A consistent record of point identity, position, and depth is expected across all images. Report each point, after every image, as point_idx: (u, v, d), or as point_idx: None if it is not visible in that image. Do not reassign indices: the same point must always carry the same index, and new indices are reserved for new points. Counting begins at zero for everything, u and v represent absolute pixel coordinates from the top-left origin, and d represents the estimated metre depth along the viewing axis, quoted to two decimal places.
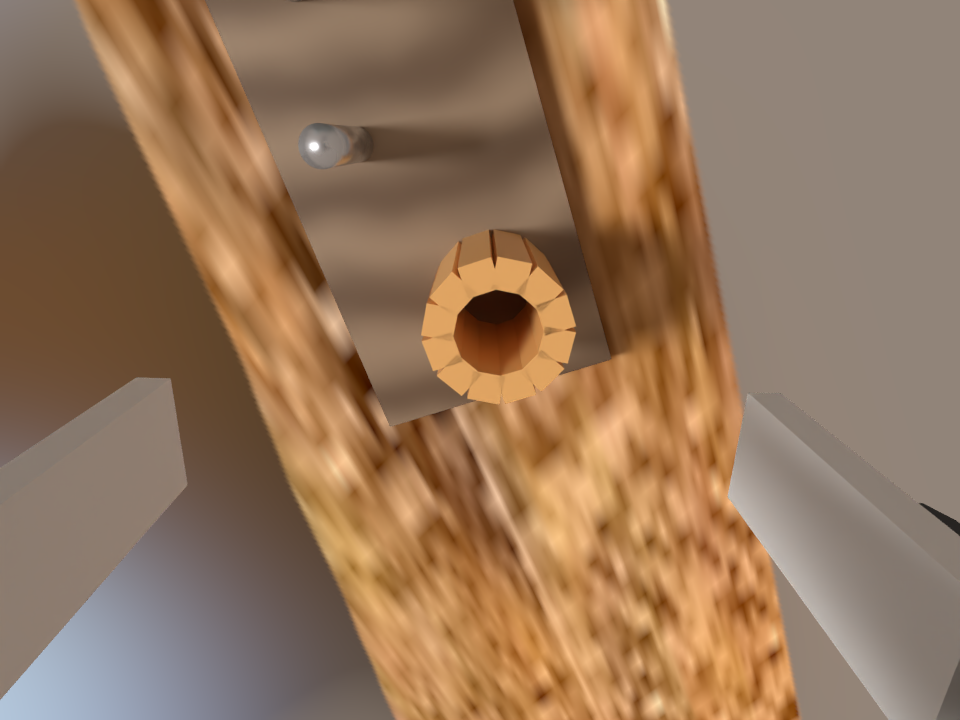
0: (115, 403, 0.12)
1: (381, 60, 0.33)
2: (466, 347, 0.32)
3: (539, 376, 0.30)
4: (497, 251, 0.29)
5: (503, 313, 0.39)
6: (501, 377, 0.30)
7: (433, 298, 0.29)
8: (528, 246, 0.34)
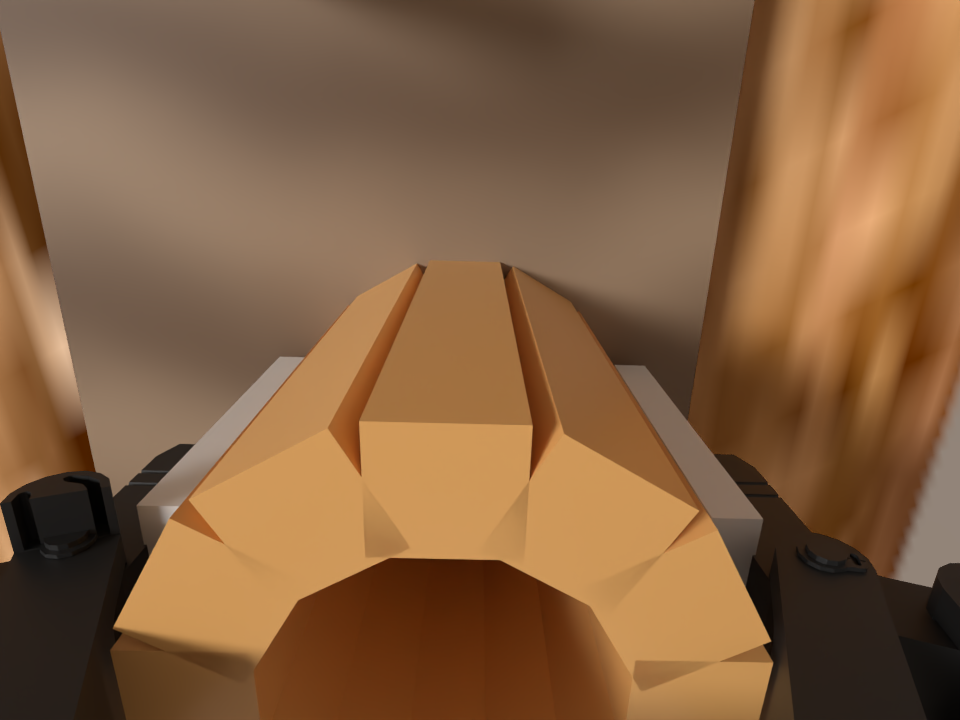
0: (274, 377, 0.13)
1: None
2: (319, 629, 0.09)
3: None
4: (550, 383, 0.07)
5: None
6: None
7: (206, 509, 0.06)
8: (604, 353, 0.12)
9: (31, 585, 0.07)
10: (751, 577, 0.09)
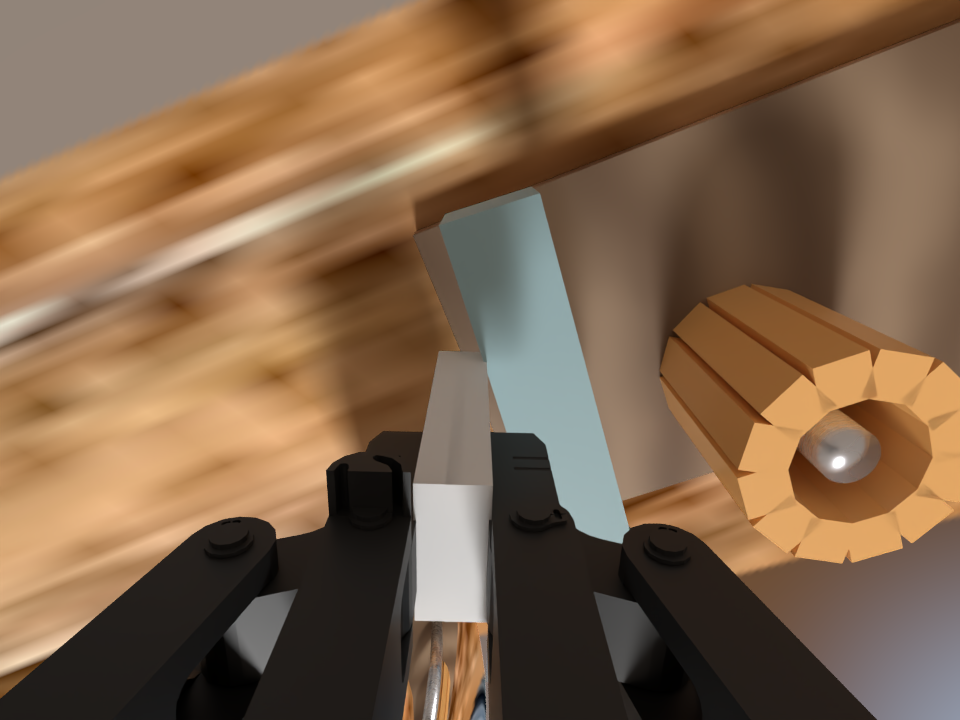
0: (448, 369, 0.14)
1: (648, 334, 0.27)
2: None
3: (947, 400, 0.18)
4: (721, 448, 0.20)
5: None
6: (935, 455, 0.19)
7: (789, 548, 0.20)
8: (697, 353, 0.24)
9: (341, 550, 0.08)
10: (488, 540, 0.09)
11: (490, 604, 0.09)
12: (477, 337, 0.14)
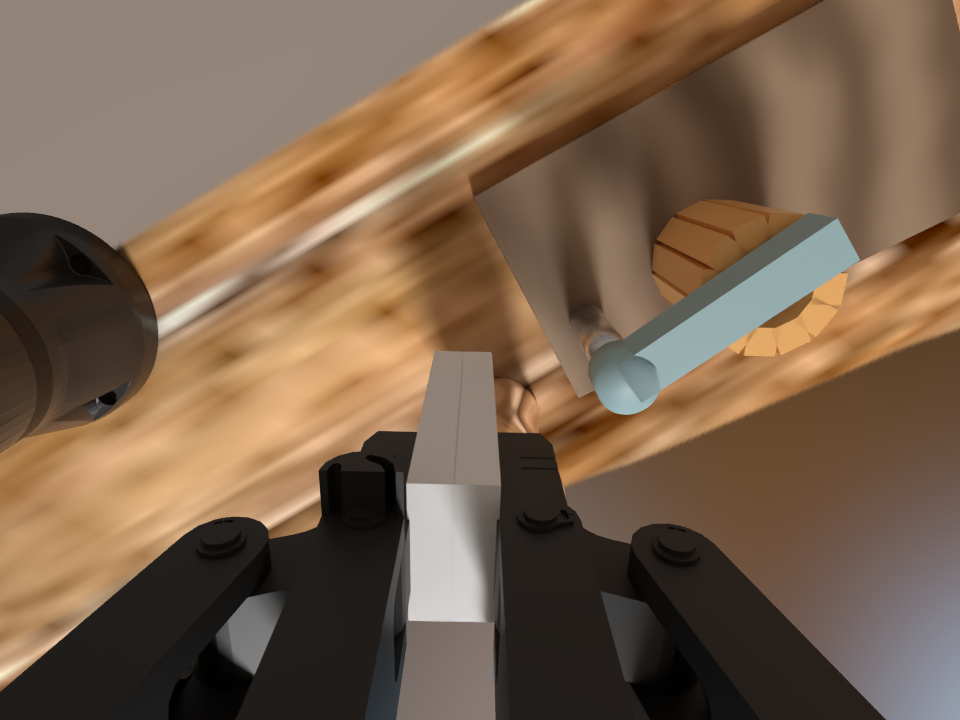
0: (444, 369, 0.14)
1: (640, 244, 0.39)
2: None
3: None
4: None
5: (874, 86, 0.36)
6: None
7: (739, 350, 0.32)
8: (671, 247, 0.36)
9: (334, 549, 0.08)
10: (496, 540, 0.09)
11: (497, 604, 0.09)
12: (782, 256, 0.27)
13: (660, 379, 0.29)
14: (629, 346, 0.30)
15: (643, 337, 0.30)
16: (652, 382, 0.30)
